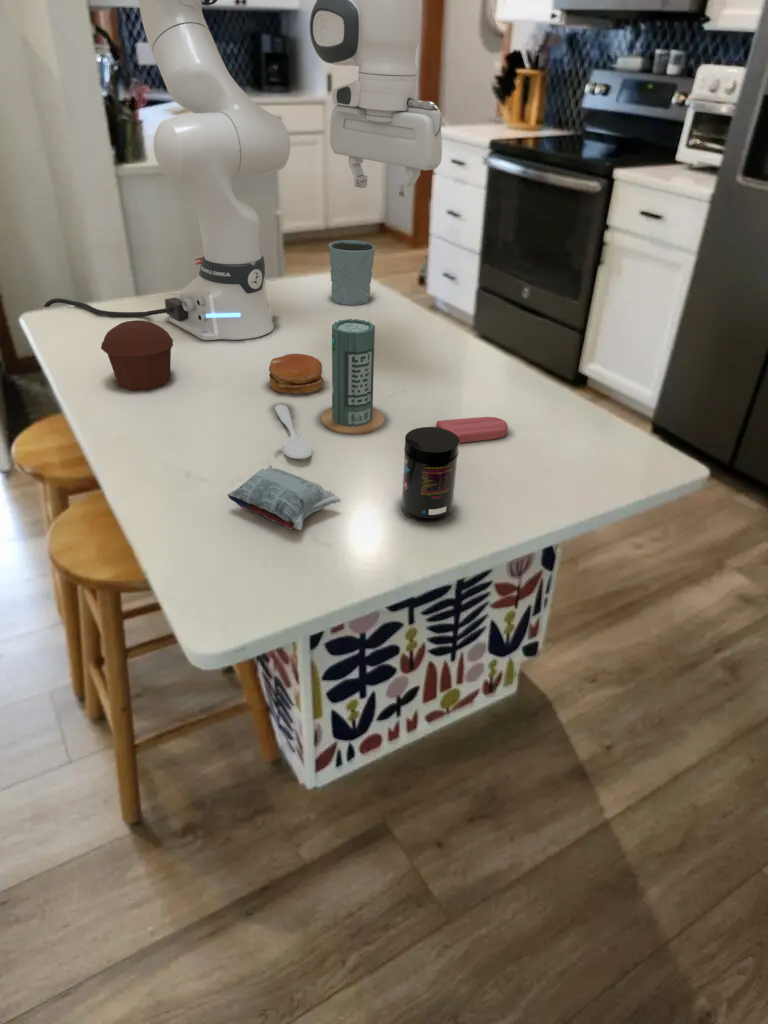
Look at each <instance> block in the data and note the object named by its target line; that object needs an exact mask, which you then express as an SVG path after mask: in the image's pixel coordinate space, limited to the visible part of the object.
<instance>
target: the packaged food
mask: <svg viewBox="0 0 768 1024" xmlns="http://www.w3.org/2000/svg"><path fill="white" fill-rule="evenodd" d="M227 497H228V498H229V500H230V501H232V502H234V503H235V504H237V506H239V507H240V508H242V509H244V510H247V511H249V512H252V513H254V514H257V515H260V516H262V517H265V518H266V519H267V520H270V521H272V522H274V523H277V524H278V525H280V526H282V527H284V528H287V529H290V530H292V529H296V530H299V532H300V531H302V530H303V527H304V526H303V525H304V521H305V519H307V518H308V517H309V516H312V515H313V514H315V513H316V512H317V511H319V510H322V509H323V508H326V507H329V506H330V505H332V504H336V503H337V504H338V503H340V502H341V498H340V497H339V496H338V495H336V494H335V493H334V492H332V491H331V490H327V489H324V488H323V487H322V485H320V484H319V483H318V482H313V481H310V480H307V479H305V478H303V477H301V476H298V475H296V474H294V473H290V472H287V471H285V470H283V469H280V468H276V467H273V466H272V465H271V464H270V465H269V466H268V467H267V468H266V469H265V468H261V469H260V470H258V471H257V472H255V473H254V474H253V475H252V476H251V477H250V478H248V479H247V480H246V481H245V482H244V483H243V484H241V485H240V486H239V487H238V488H236V489H235V490H233V491H231V492H229V493H228V494H227Z"/></svg>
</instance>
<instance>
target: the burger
mask: <svg viewBox="0 0 768 1024" xmlns="http://www.w3.org/2000/svg"><path fill="white" fill-rule="evenodd" d="M268 371H269V374H268V375H269V382H268V384H269V387H270V389H271V390H273V391H275V392H277V393H281V394H282V393H283V394H289V393H291V394H296V395H300V394H301V395H302V394H312V393H314V392H317V391H319V390H321V388H323V385H324V378H323V376H322V374H323V363H322V361H320V360H319V359H318V358H316V357H315V356H314V355H313V356H312V355H309V354H304V353H288V354H284V355H281V356H278V357H274V358H272V359H271V361H270V364H269V366H268Z"/></svg>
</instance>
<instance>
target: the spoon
mask: <svg viewBox="0 0 768 1024" xmlns="http://www.w3.org/2000/svg"><path fill="white" fill-rule="evenodd" d="M274 410H275V413H276V414H277V417H278V418H279V419H280V421H281V422H282V423H283V424H284V425H285V426H286V428H287V429H288V432H289V434H290V435H289V438H287V439H288V440H287V441H286V442H285V444H284V445H283V448H282V449H283V450H282V452H283V453H284V455H285V456H287V457H289V458H291V459H297V460H298V459H299V460H304V459H307V458H309V457H311V456H312V454H313V449H312V447H311V446H310V444H309V443H308V442H306V441H305V440H304V439H302V438H301V437H300V436H299V435H298V434H297V433H296V431H295V429H294V427H293V423H292V422H293V421H292V416H291V413H290V410H289V407H288V406H287V405H284V404H278V405H275V406H274Z"/></svg>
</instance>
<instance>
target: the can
mask: <svg viewBox="0 0 768 1024" xmlns="http://www.w3.org/2000/svg"><path fill="white" fill-rule="evenodd" d="M375 333H376V325H375V324H373V323H372V322H370V321H369V320H367V321H366V320H365V319H359V318H355V319H352V318H348V319H347V318H346V319H341V320H340V319H339V320H338V321H335V322H333V323H332V325H331V387H332V388H331V393H332V394H331V408H332V419H333V420H334V421H335V422H336V423H337V424H338V423H340V424H341V425H345V426H355V427H356V426H361V425H366V423H370V421H371V420H372V413H373V408H374V404H373V403H374V375H375V373H374V372H375V369H374V368H375V338H376V336H375V335H376V334H375Z"/></svg>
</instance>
